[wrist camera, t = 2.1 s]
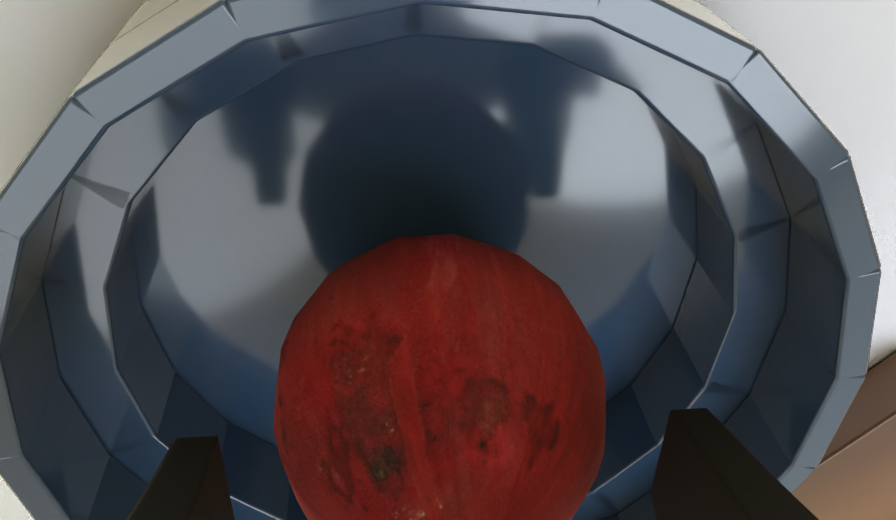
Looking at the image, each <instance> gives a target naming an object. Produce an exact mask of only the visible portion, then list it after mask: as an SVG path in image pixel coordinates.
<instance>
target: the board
mask: <svg viewBox="0 0 896 520" xmlns="http://www.w3.org/2000/svg"><path fill="white" fill-rule="evenodd" d="M792 494H793V495H794V496H795V497H796V498H797V499H798V500H799V501H800V502H801V503H802V504H803V505H804V506H805V507H806V508H807V509H808V510H809V511H811V512H812V513H813V514H814V515H815V516H816V517H817V518H818V519H819V520H896V352H895V353H894V354H892V355H891V356H889V357H888V358H887V359H885V360H884V361H882V362H881V363H879V364H878V365H876V366H875V367H874V368H872V369H871V370H869V371H868V372H867V373H866V375H865V380H864V381H863V383H862V385H861V387H860V389H859V391H858V393H857V394H856V396H855V398H854V400H853V402H852V404H851V406H850V408H849V409H848V411H847V413H846V415H845V417H844V419H843V421H842V422H841V424H840V426H839V428H838V430H837V432H836V434H835V435H834V437H833V439H832V441H831V443H830V445H829V447H828V449H827V450H826V452H825V454H824V456H823V458H822V460H821V462H820V463H819V465H818V466H817V467H815V470H814V472H813V473H812V474H811V475H810V476H809V477H808V478H807V479H806V480H805V481H804V482H803V483H802V484H801V485H800V486H799V487H798V488H797V489H796V490H795V491H794V492H793V493H792Z"/></svg>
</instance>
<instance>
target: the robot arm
mask: <svg viewBox="0 0 896 520" xmlns="http://www.w3.org/2000/svg"><path fill="white" fill-rule="evenodd" d="M650 496H651V500H652V504H653V508H654V512H655V515H656V519H657V520H819V519H818V518H817V517H816V516H815V515H814V514H813V513H812V512H811V511H809V510H808V509H807V508H806V507H805V506H804V505H803V504H802V503H801V502H800V501H799V500H798V499H797V498H796V497H795V496H794V495H793V494H792V493H791V492H790V491H789V490H787V489H786V488H785V487H784V486H783V485H782V484H781V483H780V482H779V481H778V480H777V479H776V478H775V477H774V476H773V475H772V474H771V473H770V472H769V471H768V470H767V469H766V468H765V467H764V466H763V465H762V464H761V463H760V462H759V461H758V460H757V459H756V458H755V457H754V456H753V455H752V454H751V453H750V452H749V451H748V450H747V448H746V447H745V446H744V445H743V444H742V443H741V442H740V441H739V440H738V439H737V438H736V437H735V436H734V435H733V434H732V433H731V432H730V431H729V430H728V429H727V428H726V427H725V426H724V425H723V424H722V423H721V422H720V421H719V420H718V419H717V418H716V417H715V416H714V415H713V414H712V413H711V412H710V411H709V410H708V409H707V408H695V409H677V410H670V413H669V417H668V421H667V425H666V430H665V434H664V438H663V442H662V447H661V451H660V455H659V459H658V463H657V468H656V472H655V476H654V480H653V485H652V489H651V493H650ZM126 520H235V518H234V513H233V508H232V503H231V498H230V493H229V488H228V483H227V478H226V473H225V468H224V463H223V458H222V453H221V448H220V443H219V438H218V436H206V437H188V438H177V439H176V440H175V441H174V442H173V443H172V444H171V446H170V447H169V449H168V451H167V453H166V455H165V456H164V458H163V460H162V462H161V464H160V465H159V467H158V469H157V470H156V472H155V474H154V476H153V477H152V479H151V481H150V482H149V484H148V486H147V487H146V489H145V491H144V492H143V494H142V495H141V497H140V499H139V500H138V502H137V503H136V505H135V507H134V508H133V510H132V511H131V513H130V515H129V516H128V518H127V519H126Z"/></svg>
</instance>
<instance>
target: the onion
mask: <svg viewBox="0 0 896 520" xmlns="http://www.w3.org/2000/svg"><path fill="white" fill-rule="evenodd" d="M605 428H606V381H605V376H604V372H603V368H602V364H601V359H600V355H599V351H598V348H597V346H596V345H595V343H594V341H593V340H592V338H591V336H590V335H589V333H588V331H587V329H586V328H585V326H584V324H583V323H582V321H581V319H580V318H579V316H578V314H577V312H576V311H575V309H574V308H573V306H572V305H571V303H570V301H569V300H568V298H567V297H566V295H565V294H564V292H563V290H562V289H561V287H560V286H559V285H558V284H557V283H555V282H554V281H553V280H551V279H550V278H549V277H547V276H546V275H545V274H543V273H542V272H541V271H540V270H538V269H537V268H536V267H534V266H533V265H532V264H530V263H529V262H528V261H526V260H525V259H524V258H522V257H521V256H520V255H517V254H515V253H513V252H510V251H508V250H506V249H504V248H501V247H498V246H494V245H491V244H487V243H484V242H480V241H477V240H473V239H470V238H467V237H463V236H460V235H456V234H436V235H420V236H404V237H395V238H393V239H391V240H389V241H387V242H385V243H383V244H381V245H379V246H377V247H375V248H373V249H371V250H369V251H367V252H365V253H363V254H360V255H358V256H356V257H354V258H352V259H350V260H348V261H346V262H345V263H343V264H342V265H341V266H339V267H338V268H336V269H335V270H334V271H332V272H331V273H329V274H328V276H327V277H326V278H325V280H324V281H323V282H322V283H321V285H320V286H319V287H318V288H317V290H316V291H315V292H314V293H313V295H312V296H311V297H310V299H309V300H308V301H307V302H306V304H305V305H304V306H303V307H302V309H301V310H300V311H299V312H298V314H297V315H296V316H295V317H294V320H293V322H292V324H291V326H290V329H289V331H288V333H287V335H286V338H285V340H284V342H283V345H282V347H281V353H280V361H279V369H278V377H277V385H276V393H275V406H274V423H273V430H274V434H275V438H276V443H277V447H278V451H279V455H280V459H281V462H282V464H283V467H284V469H285V472H286V474H287V477H288V479H289V482H290V484H291V487H292V489H293V492H294V494H295V497H296V499H297V501H298V503H299V505H300V507H301V509H302V510H303V512H304V514H305V516H306V518H307V519H308V520H571V519H572V517H573V516H574V514H575V513H576V511H577V510H578V508H579V507H580V505H581V504H582V502H583V501H584V499H585V497H586V495H587V494H588V492H589V490H590V488H591V486H592V484H593V483H594V481H595V479H596V477H597V474H598V471H599V468H600V464H601V461H602V458H603V455H604V450H605Z"/></svg>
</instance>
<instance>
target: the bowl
mask: <svg viewBox="0 0 896 520" xmlns="http://www.w3.org/2000/svg"><path fill="white" fill-rule="evenodd" d="M436 234H456V235H460V236H463V237H467V238H470V239H473V240H477V241H480V242H484V243H487V244H491V245H494V246H498V247H501V248H504V249H506V250H508V251H510V252H513V253H515V254H517V255H520V256H521V257H522V258H524V259H525V260H526V261H528V262H529V263H530V264H532V265H533V266H534V267H536V268H537V269H538V270H540V271H541V272H542V273H543V274H545V275H546V276H547V277H549V278H550V279H551V280H553V281H554V282H555V283H557V284H558V285H559V286H560V287H561V289H562V290H563V292H564V294H565V295H566V297H567V298H568V300H569V301H570V303H571V305H572V306H573V308H574V309H575V311H576V312H577V314H578V316H579V318H580V319H581V321H582V323H583V324H584V326H585V328H586V329H587V331H588V333H589V335H590V336H591V338H592V340H593V341H594V343H595V345H596V346H597V348H598V351H599V355H600V359H601V364H602V368H603V372H604V376H605V381H606V428H605V450H604V455H603V458H602V461H601V464H600V468H599V471H598V474H597V477H596V479H595V481H594V483H593V484H592V486H591V488H590V490H589V492H588V494H587V495H586V497H585V499H584V501H583V502H582V504H581V505H580V507H579V508H578V510H577V511H576V513H575V514H574V516H573V517H572V519H571V520H657V519H656V515H655V512H654V508H653V504H652V500H651V496H650V493H651V489H652V485H653V480H654V476H655V472H656V468H657V463H658V459H659V455H660V451H661V447H662V442H663V438H664V434H665V430H666V425H667V421H668V417H669V413H670V410H677V409H695V408H707V409H708V410H709V411H710V412H711V413H712V414H713V415H714V416H715V417H716V418H717V419H718V420H719V421H720V422H721V423H722V424H723V425H724V426H725V427H726V428H727V429H728V430H729V431H730V432H731V433H732V434H733V435H734V436H735V437H736V438H737V439H738V440H739V441H740V442H741V443H742V444H743V445H744V446H745V447H746V448H747V450H748V451H749V452H750V453H751V454H752V455H753V456H754V457H755V458H756V459H757V460H758V461H759V462H760V463H761V464H762V465H763V466H764V467H765V468H766V469H767V470H768V471H769V472H770V473H771V474H772V475H773V476H774V477H775V478H776V479H777V480H778V481H779V482H780V483H781V484H782V485H783V486H784V487H785V488H786V489H787V490H789V491H790V492H791V493H793V492H794V491H795V490H796V489H797V488H798V487H799V486H800V485H801V484H802V483H803V482H804V481H805V480H806V479H807V478H808V477H809V476H810V475H811V474H812V473H813V472H814V470H815V467H817V466H818V465H819V463H820V462H821V460H822V458H823V456H824V454H825V452H826V450H827V449H828V447H829V445H830V443H831V441H832V439H833V437H834V435H835V434H836V432H837V430H838V428H839V426H840V424H841V422H842V421H843V419H844V417H845V415H846V413H847V411H848V409H849V408H850V406H851V404H852V402H853V400H854V398H855V396H856V394H857V393H858V391H859V389H860V387H861V385H862V383H863V381H864V380H865V375H866V373H867V368H868V361H869V354H870V347H871V340H872V333H873V326H874V319H875V312H876V305H877V298H878V291H879V284H880V277H881V269H880V267H881V264H880V260H879V257H878V253H877V250H876V246H875V243H874V239H873V236H872V232H871V229H870V225H869V221H868V218H867V214H866V211H865V207H864V204H863V200H862V197H861V193H860V190H859V186H858V183H857V179H856V176H855V172H854V168H853V165H852V161H851V158H850V156H849V153H848V151H847V149H846V148H845V147H844V146H843V145H842V144H841V142H840V141H839V140H838V139H837V138H836V137H835V136H834V134H833V133H832V132H831V131H830V130H829V129H828V127H827V126H826V125H825V124H824V123H823V122H822V120H821V119H820V118H819V117H818V116H817V115H816V114H815V112H814V111H813V110H812V109H811V108H810V107H809V105H808V104H807V103H806V102H805V101H804V100H803V98H802V97H801V96H800V95H799V94H798V93H797V91H796V90H795V89H794V88H793V87H792V86H791V85H790V83H789V82H788V81H787V80H786V79H785V78H784V76H783V75H782V74H781V73H780V72H779V71H778V69H777V68H776V67H775V66H774V65H773V64H772V63H771V61H770V60H769V59H768V58H767V57H766V56H765V54H764V53H763V52H762V51H761V50H760V49H759V48H757V47H756V46H755V45H754V44H752V43H751V42H750V41H748V40H747V39H746V38H745V37H743V36H742V35H741V34H739V33H738V32H737V31H736V30H734V29H733V28H732V27H731V26H729V25H728V24H727V23H725V22H724V21H723V20H722V19H720V18H719V17H718V16H716V15H715V14H714V13H713V12H711V11H710V10H709V9H707V8H706V7H705V6H703V5H702V4H701V3H699V2H698V1H697V0H148V1H146V2H145V3H143V4H142V5H141V7H139V8H138V9H137V10H136V11H135V13H134V14H133V15H132V16H131V18H130V19H129V20H128V21H127V23H126V24H125V25H124V26H123V28H122V29H121V30H120V32H119V33H118V34H117V35H116V37H115V38H114V39H113V40H112V42H111V43H110V44H109V45H108V47H107V48H106V49H105V51H104V52H103V53H102V54H101V56H100V57H99V58H98V59H97V61H96V62H95V63H94V65H93V66H92V67H91V68H90V70H89V71H88V72H87V73H86V75H85V76H84V77H83V78H82V80H81V81H80V82H79V84H78V85H77V86H76V87H75V89H74V90H73V91H72V92H71V94H70V95H69V96H68V97H67V99H66V100H65V102H64V103H63V104H62V106H61V107H60V109H59V110H58V111H57V113H56V114H55V116H54V117H53V118H52V120H51V121H50V123H49V124H48V125H47V127H46V128H45V130H44V131H43V132H42V134H41V135H40V137H39V138H38V139H37V141H36V142H35V144H34V145H33V146H32V148H31V149H30V151H29V152H28V153H27V155H26V156H25V158H24V159H23V160H22V162H21V163H20V165H19V166H18V167H17V169H16V170H15V172H14V173H13V174H12V176H11V177H10V179H9V180H8V181H7V183H6V184H5V186H4V187H3V188H2V190H1V191H0V476H1V477H2V478H3V480H4V481H5V482H6V483H7V485H8V486H9V487H10V489H11V490H12V491H13V493H14V494H15V495H16V497H17V498H18V499H19V500H20V502H21V503H22V504H23V506H24V507H25V508H26V510H27V511H28V512H29V513H30V515H31V516H32V517H33V519H34V520H126V519H127V518H128V516H129V515H130V513H131V511H132V510H133V508H134V507H135V505H136V503H137V502H138V500H139V499H140V497H141V495H142V494H143V492H144V491H145V489H146V487H147V486H148V484H149V482H150V481H151V479H152V477H153V476H154V474H155V472H156V470H157V469H158V467H159V465H160V464H161V462H162V460H163V458H164V456H165V455H166V453H167V451H168V449H169V447H170V446H171V444H172V443H173V442H174V441H175V440H176V439H177V438H188V437H206V436H218V438H219V443H220V448H221V453H222V458H223V463H224V468H225V473H226V478H227V483H228V488H229V493H230V498H231V503H232V508H233V513H234V518H235V520H308V519H307V518H306V516H305V514H304V512H303V510H302V509H301V507H300V505H299V503H298V501H297V499H296V497H295V494H294V492H293V489H292V487H291V484H290V482H289V479H288V477H287V474H286V472H285V469H284V467H283V464H282V462H281V459H280V455H279V451H278V447H277V443H276V438H275V434H274V430H273V423H274V406H275V393H276V385H277V377H278V369H279V361H280V353H281V347H282V345H283V342H284V340H285V338H286V335H287V333H288V331H289V329H290V326H291V324H292V322H293V320H294V317H295V316H296V315H297V314H298V312H299V311H300V310H301V309H302V307H303V306H304V305H305V304H306V302H307V301H308V300H309V299H310V297H311V296H312V295H313V293H314V292H315V291H316V290H317V288H318V287H319V286H320V285H321V283H322V282H323V281H324V280H325V278H326V277H327V276H328V274H329V273H331V272H332V271H334V270H335V269H336V268H338V267H339V266H341V265H342V264H343V263H345V262H346V261H348V260H350V259H352V258H354V257H356V256H358V255H360V254H363V253H365V252H367V251H369V250H371V249H373V248H375V247H377V246H379V245H381V244H383V243H385V242H387V241H389V240H391V239H393V238H395V237H404V236H420V235H436Z"/></svg>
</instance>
